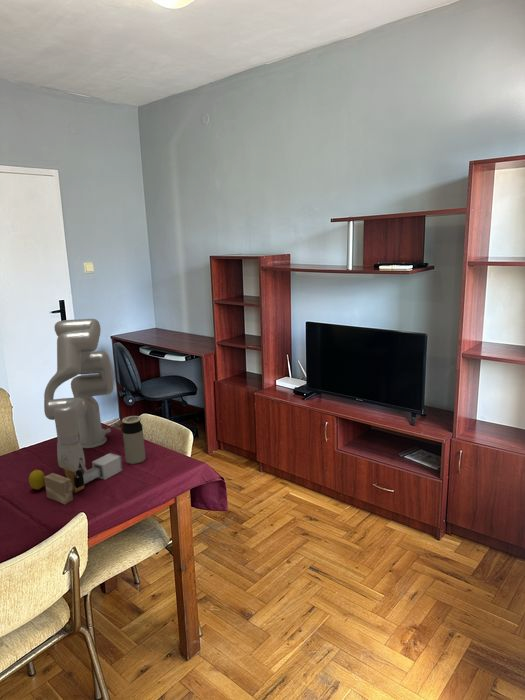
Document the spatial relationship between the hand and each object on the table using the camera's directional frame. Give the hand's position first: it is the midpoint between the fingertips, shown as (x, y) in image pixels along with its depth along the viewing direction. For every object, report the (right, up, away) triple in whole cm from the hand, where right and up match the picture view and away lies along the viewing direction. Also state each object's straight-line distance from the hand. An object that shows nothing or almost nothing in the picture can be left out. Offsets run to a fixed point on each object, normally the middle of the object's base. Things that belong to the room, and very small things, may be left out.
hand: (75, 484), depth 182 cm
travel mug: (+16, +4, +23) cm, 29 cm away
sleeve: (+8, +1, +13) cm, 15 cm away
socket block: (-4, -4, -5) cm, 7 cm away
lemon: (-14, -3, +2) cm, 15 cm away
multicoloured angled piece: (+1, -1, +3) cm, 3 cm away
